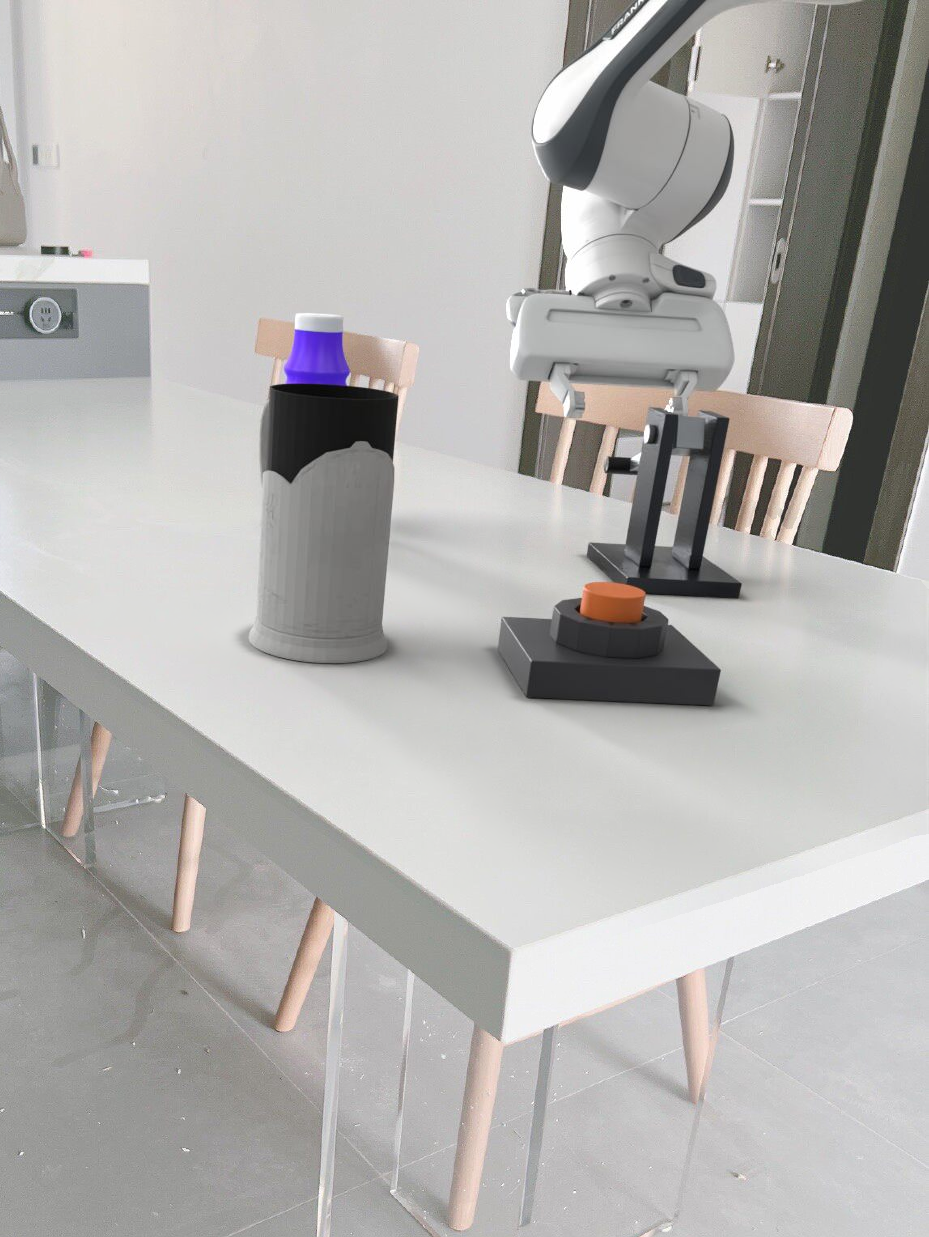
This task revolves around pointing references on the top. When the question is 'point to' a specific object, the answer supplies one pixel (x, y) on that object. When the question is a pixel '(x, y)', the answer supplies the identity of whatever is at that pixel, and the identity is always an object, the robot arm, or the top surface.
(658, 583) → the bracket
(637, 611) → the button
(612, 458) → the lever
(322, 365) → the bottle
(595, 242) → the robot arm
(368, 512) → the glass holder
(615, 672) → the switch box
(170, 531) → the top surface
